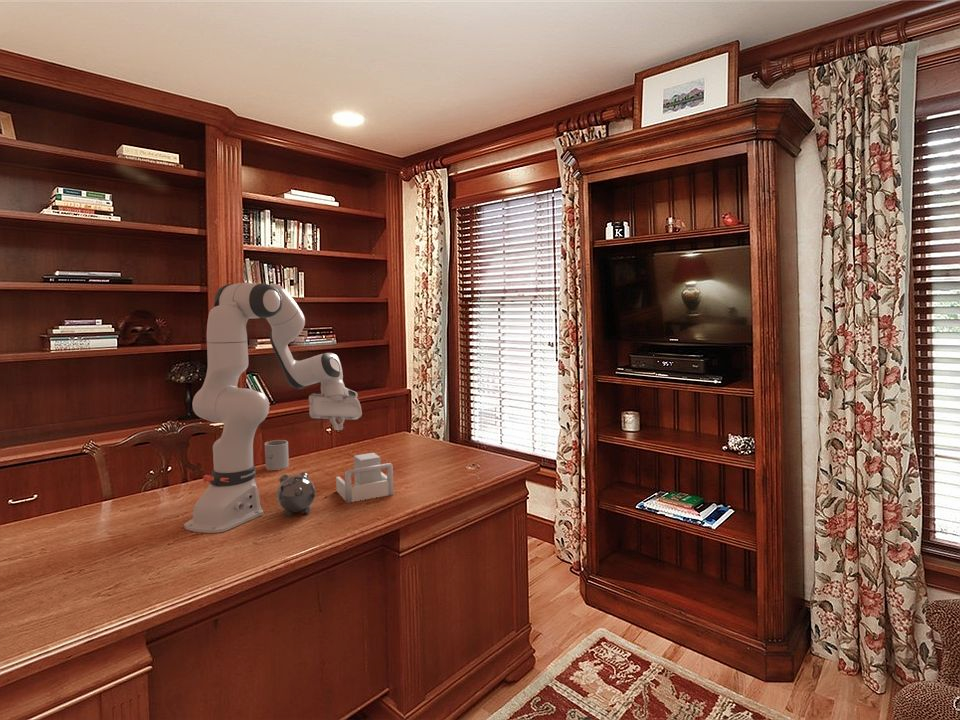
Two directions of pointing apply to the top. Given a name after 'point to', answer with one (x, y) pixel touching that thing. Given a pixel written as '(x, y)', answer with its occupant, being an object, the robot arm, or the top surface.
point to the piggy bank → (296, 493)
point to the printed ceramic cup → (276, 455)
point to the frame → (367, 489)
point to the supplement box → (367, 461)
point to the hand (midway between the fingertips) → (338, 429)
